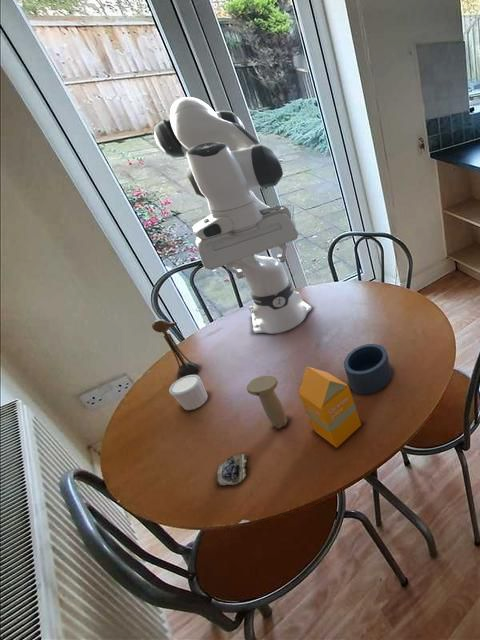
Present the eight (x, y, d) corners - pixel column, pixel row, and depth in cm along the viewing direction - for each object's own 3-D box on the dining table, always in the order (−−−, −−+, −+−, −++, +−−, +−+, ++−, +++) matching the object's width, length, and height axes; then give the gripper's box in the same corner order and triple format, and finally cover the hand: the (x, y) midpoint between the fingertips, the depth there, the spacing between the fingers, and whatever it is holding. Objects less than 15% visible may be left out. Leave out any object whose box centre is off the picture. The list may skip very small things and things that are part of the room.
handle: (289, 431, 102) (270, 390, 94) (264, 432, 101) (242, 392, 94) (297, 414, 106) (279, 375, 98) (272, 416, 105) (253, 376, 98)
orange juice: (336, 448, 97) (314, 392, 87) (314, 431, 101) (290, 376, 91) (362, 424, 103) (344, 369, 93) (340, 409, 107) (320, 355, 97)
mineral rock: (243, 450, 97) (240, 445, 96) (257, 470, 93) (254, 465, 92) (212, 471, 93) (208, 466, 92) (224, 493, 88) (221, 488, 87)
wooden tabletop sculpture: (205, 364, 122) (175, 313, 112) (199, 375, 118) (168, 323, 108) (183, 368, 121) (151, 316, 110) (176, 379, 117) (142, 327, 106)
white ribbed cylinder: (216, 395, 112) (206, 377, 108) (192, 415, 106) (180, 397, 103) (198, 388, 114) (188, 371, 110) (174, 408, 108) (162, 390, 105)
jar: (343, 377, 116) (336, 357, 112) (379, 357, 123) (375, 338, 119) (361, 401, 109) (354, 381, 105) (398, 378, 116) (394, 358, 112)
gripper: (282, 200, 99) (301, 249, 105) (183, 229, 87) (212, 283, 93) (290, 204, 94) (310, 255, 101) (188, 235, 83) (218, 291, 89)
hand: (262, 269), depth 97 cm, fingers open, 8 cm apart
